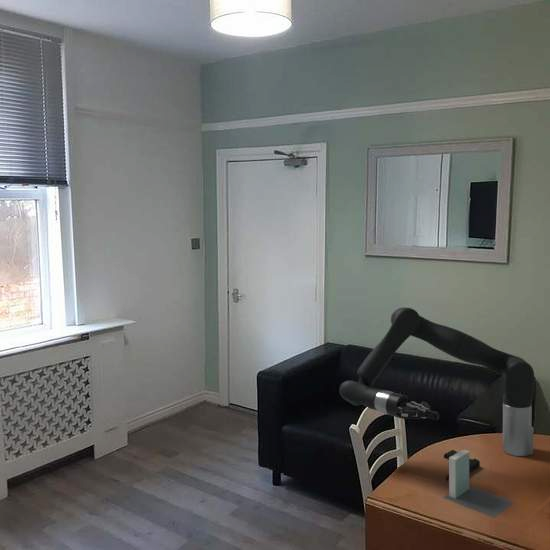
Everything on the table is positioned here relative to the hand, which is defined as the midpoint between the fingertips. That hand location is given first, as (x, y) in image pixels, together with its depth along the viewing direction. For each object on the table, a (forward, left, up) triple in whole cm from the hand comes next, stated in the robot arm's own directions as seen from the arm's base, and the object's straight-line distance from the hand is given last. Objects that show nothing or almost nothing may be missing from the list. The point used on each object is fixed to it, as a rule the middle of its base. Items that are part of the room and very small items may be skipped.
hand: (438, 416), depth 173 cm
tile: (-5, +5, -22) cm, 23 cm away
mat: (-10, +9, -23) cm, 26 cm away
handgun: (-7, -12, -23) cm, 27 cm away
